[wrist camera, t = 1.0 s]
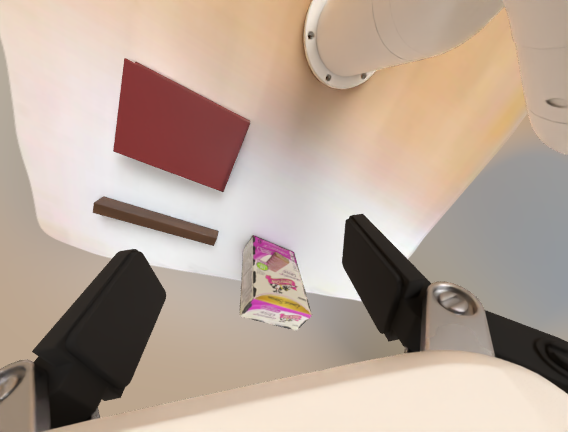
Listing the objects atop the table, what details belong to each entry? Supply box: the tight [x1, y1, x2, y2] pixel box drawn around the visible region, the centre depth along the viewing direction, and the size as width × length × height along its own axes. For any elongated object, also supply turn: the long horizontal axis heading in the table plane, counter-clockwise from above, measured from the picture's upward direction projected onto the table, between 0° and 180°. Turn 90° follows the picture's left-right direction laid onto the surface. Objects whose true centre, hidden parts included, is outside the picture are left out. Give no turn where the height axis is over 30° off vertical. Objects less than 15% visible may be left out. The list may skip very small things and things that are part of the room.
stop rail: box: [93, 197, 218, 246], centre depth 37 cm, size 2×20×2 cm, turn 63°
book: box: [113, 58, 250, 192], centre depth 30 cm, size 12×16×3 cm
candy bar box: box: [240, 236, 312, 331], centre depth 39 cm, size 11×5×16 cm, turn 57°
